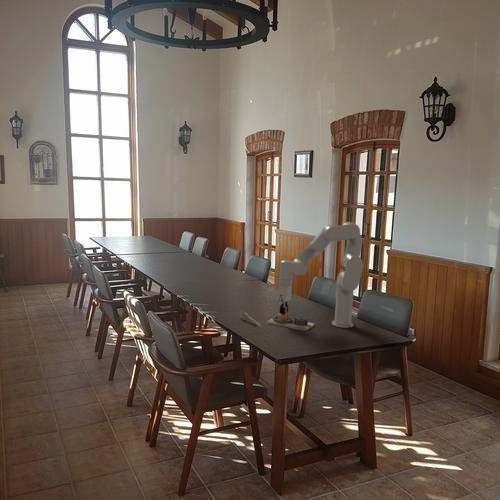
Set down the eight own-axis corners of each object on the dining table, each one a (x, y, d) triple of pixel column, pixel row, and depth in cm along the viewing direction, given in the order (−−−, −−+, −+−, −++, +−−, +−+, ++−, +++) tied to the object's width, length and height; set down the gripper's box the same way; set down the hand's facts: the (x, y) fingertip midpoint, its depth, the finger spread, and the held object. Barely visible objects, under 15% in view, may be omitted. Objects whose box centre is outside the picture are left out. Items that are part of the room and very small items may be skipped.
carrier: (277, 318, 294) (277, 307, 294) (314, 325, 283) (315, 314, 283) (266, 323, 282) (267, 312, 281) (305, 331, 271) (306, 320, 270)
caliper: (239, 319, 289) (240, 308, 288) (241, 318, 290) (241, 308, 289) (261, 328, 273) (261, 317, 272) (262, 328, 274) (263, 317, 273)
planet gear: (280, 316, 289) (281, 304, 288) (291, 318, 286) (291, 306, 285) (275, 319, 283) (276, 306, 282) (286, 321, 280) (287, 308, 279)
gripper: (285, 278, 291) (283, 309, 293) (273, 283, 276) (271, 315, 279) (297, 280, 287) (295, 311, 290) (285, 285, 273) (283, 317, 275)
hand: (283, 312), depth 284 cm, fingers closed on planet gear, 3 cm apart
